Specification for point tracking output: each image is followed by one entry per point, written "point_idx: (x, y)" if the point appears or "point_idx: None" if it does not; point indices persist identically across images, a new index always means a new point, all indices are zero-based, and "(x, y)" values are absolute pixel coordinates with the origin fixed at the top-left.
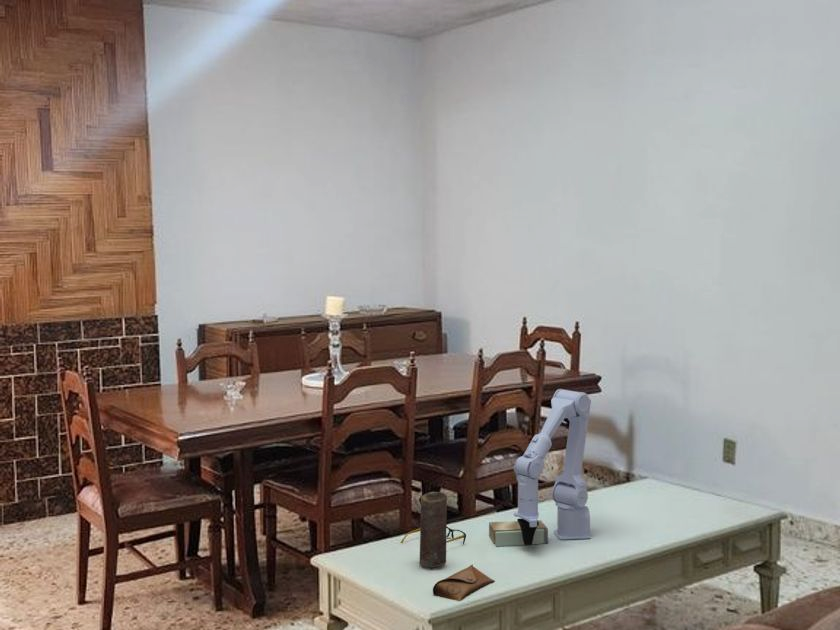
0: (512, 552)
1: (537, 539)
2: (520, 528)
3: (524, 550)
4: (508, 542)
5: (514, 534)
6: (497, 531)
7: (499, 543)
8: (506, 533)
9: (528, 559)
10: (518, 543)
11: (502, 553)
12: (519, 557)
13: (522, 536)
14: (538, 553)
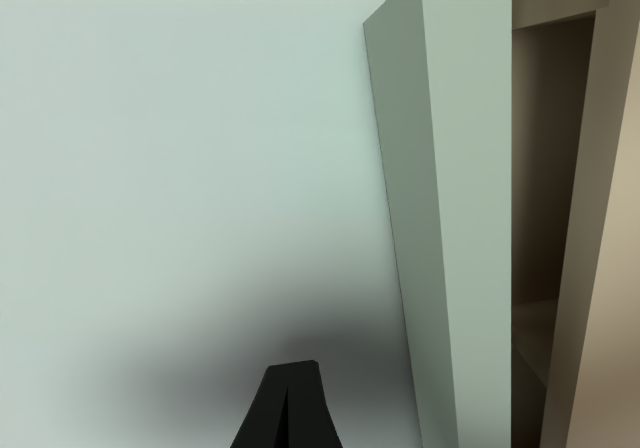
0: (182, 217)
1: None
2: (604, 429)
3: (260, 325)
4: (395, 197)
5: (435, 324)
6: (614, 26)
7: (378, 72)
8: (435, 216)
9: (5, 348)
10: (403, 294)
11: (123, 101)
12: (36, 277)
13: (313, 418)
14: (192, 418)
